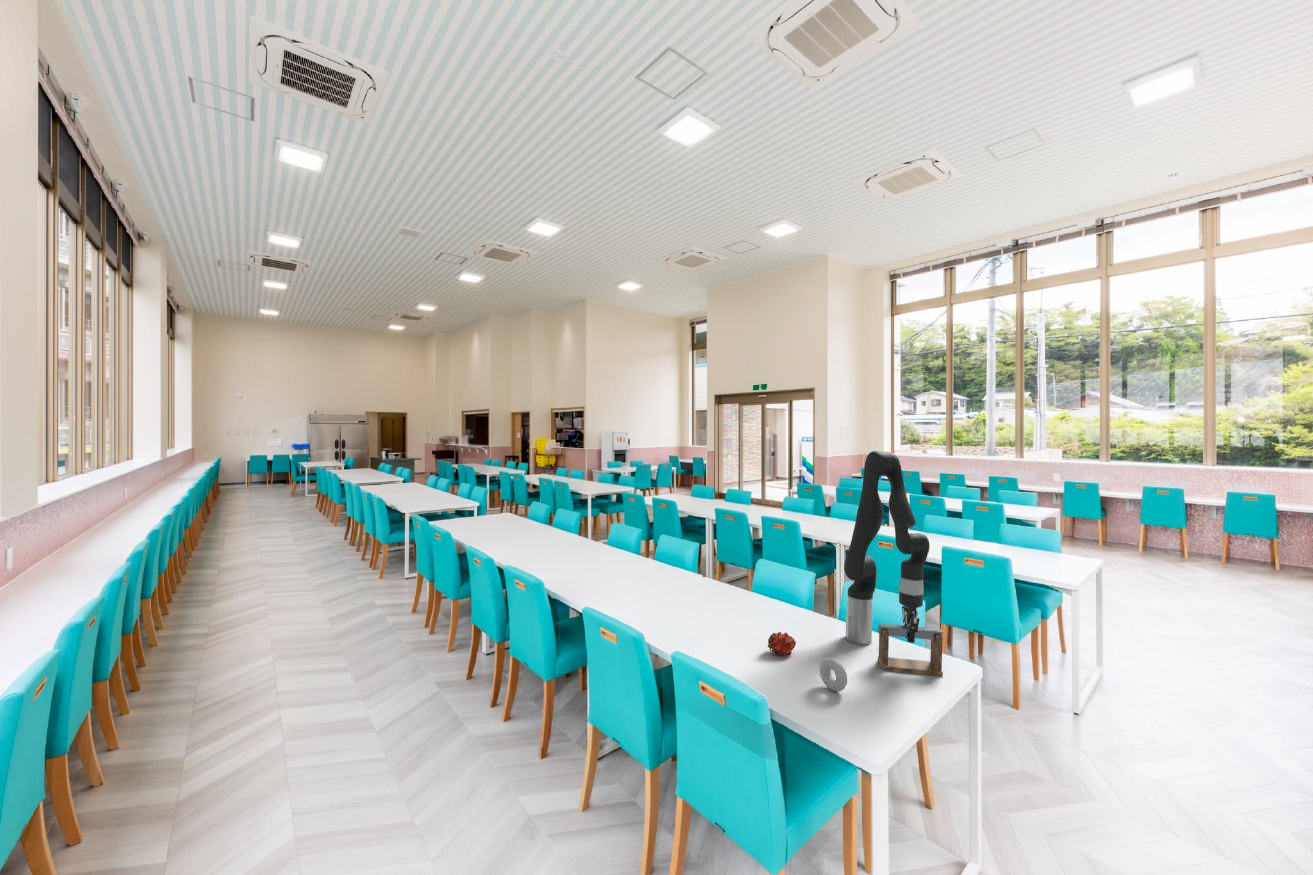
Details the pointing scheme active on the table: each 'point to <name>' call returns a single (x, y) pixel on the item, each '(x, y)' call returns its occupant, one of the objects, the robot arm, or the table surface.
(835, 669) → the donut
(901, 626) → the steel bar
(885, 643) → the walnut stand
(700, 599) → the table surface
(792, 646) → the red bumpy oval lump
